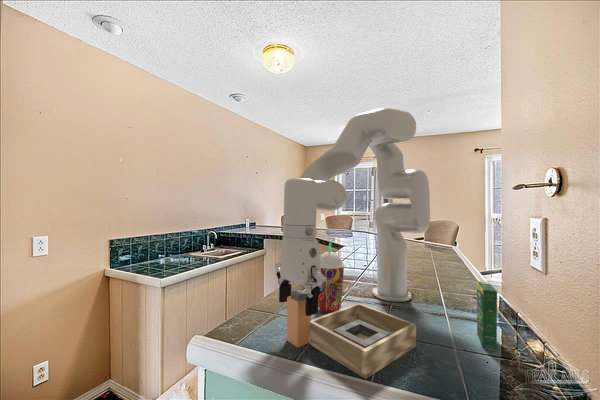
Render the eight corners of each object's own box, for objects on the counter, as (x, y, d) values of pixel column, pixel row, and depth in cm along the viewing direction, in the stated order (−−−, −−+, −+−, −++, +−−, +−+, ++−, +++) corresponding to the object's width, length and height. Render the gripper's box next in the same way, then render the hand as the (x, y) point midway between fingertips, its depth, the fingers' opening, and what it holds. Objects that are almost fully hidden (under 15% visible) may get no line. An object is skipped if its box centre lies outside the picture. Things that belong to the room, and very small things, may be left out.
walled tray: (358, 321, 74) (358, 302, 74) (415, 346, 61) (416, 324, 61) (307, 343, 62) (308, 321, 62) (365, 379, 50) (365, 351, 50)
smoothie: (343, 317, 76) (343, 245, 76) (313, 315, 78) (313, 244, 78) (344, 306, 84) (345, 241, 84) (317, 304, 86) (317, 240, 86)
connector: (300, 335, 66) (300, 288, 66) (311, 341, 63) (311, 292, 63) (286, 340, 64) (287, 291, 64) (297, 347, 61) (298, 296, 61)
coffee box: (475, 332, 68) (476, 279, 68) (489, 335, 67) (490, 281, 67) (481, 348, 61) (482, 289, 61) (497, 351, 60) (497, 291, 60)
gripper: (338, 235, 59) (336, 316, 59) (289, 228, 72) (288, 294, 72) (312, 237, 54) (310, 325, 54) (265, 229, 68) (263, 299, 67)
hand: (297, 307), depth 63 cm, fingers open, 9 cm apart
